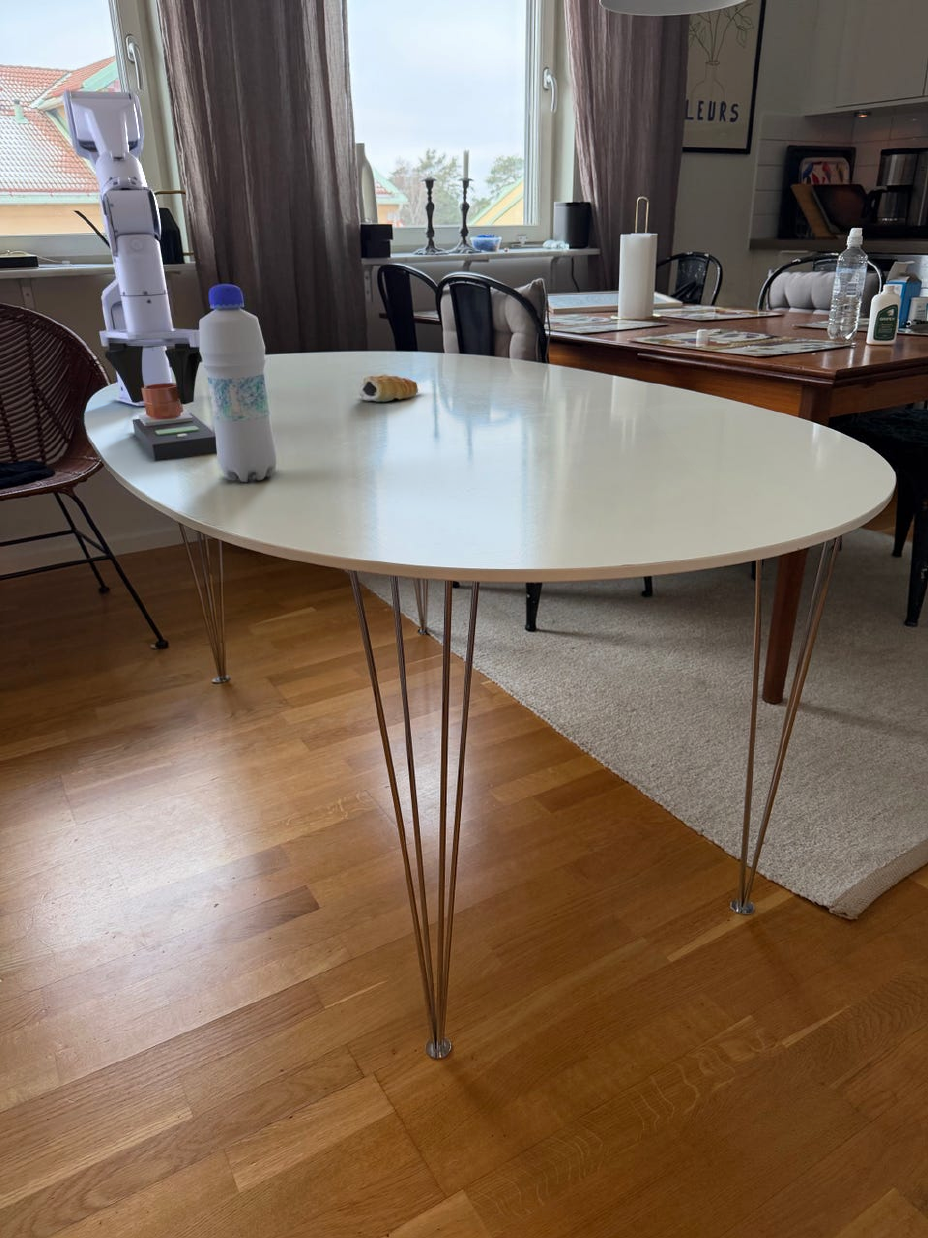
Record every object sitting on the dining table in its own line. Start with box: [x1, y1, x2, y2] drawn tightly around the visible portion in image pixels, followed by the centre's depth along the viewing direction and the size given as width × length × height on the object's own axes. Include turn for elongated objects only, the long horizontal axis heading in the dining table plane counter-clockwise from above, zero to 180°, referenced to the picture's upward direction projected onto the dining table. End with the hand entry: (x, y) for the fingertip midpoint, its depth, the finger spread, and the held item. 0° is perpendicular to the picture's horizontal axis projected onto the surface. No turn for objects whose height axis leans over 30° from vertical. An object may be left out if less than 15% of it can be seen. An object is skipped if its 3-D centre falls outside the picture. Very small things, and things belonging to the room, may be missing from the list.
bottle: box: [198, 283, 277, 483], centre depth 91 cm, size 7×7×20 cm
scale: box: [131, 409, 217, 462], centre depth 112 cm, size 18×8×2 cm, turn 27°
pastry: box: [359, 374, 419, 403], centre depth 136 cm, size 9×7×4 cm
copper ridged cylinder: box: [141, 382, 184, 419], centre depth 115 cm, size 5×5×4 cm
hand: (163, 402), depth 115 cm, fingers open, 7 cm apart
